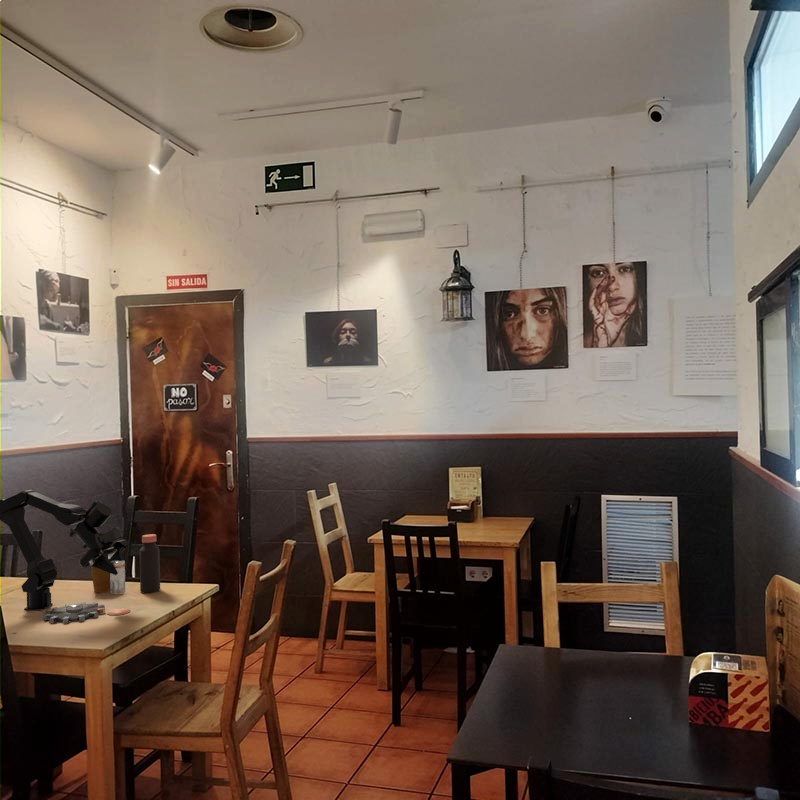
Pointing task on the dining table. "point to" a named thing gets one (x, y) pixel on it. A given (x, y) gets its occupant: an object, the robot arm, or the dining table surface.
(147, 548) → the bottle
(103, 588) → the disposable coffee cup
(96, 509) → the robot arm
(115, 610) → the seat pad
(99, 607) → the sprocket
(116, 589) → the pin
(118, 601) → the dining table surface
